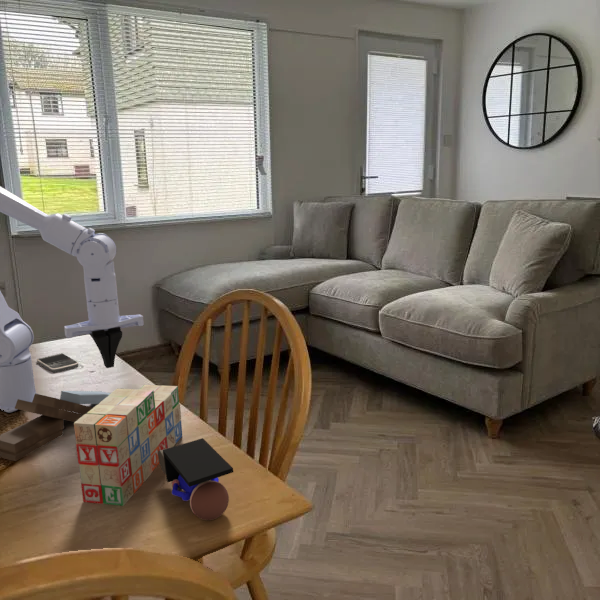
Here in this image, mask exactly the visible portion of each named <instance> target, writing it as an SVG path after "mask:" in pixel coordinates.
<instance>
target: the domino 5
mask: <svg viewBox="0 0 600 600" xmlns="http://www.w3.org/2000/svg"><path fill="white" fill-rule="evenodd" d="M111 393H112V392H111ZM111 393H110V392H106V391H102V390H61V391H60V396H59V397H60V398H59V399H61V400H65V401H69V402H73V403H77V404H81V405H98V404H99V403H100V402H101V401H103V400H104V399H105V398H106V397H108V396H109V395H110V394H111Z"/></svg>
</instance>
